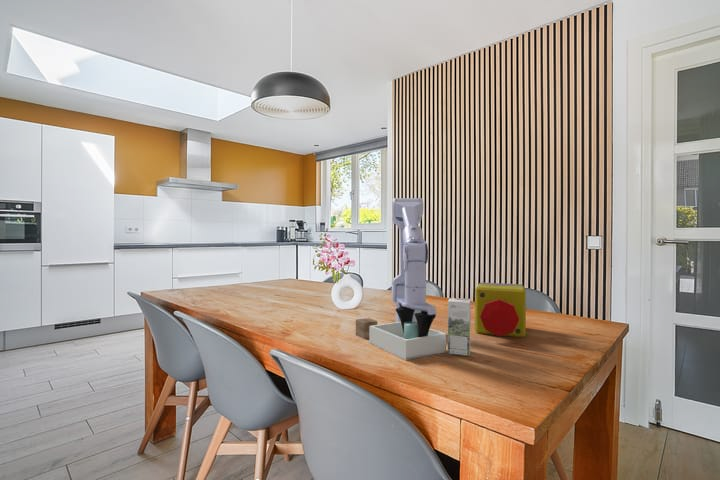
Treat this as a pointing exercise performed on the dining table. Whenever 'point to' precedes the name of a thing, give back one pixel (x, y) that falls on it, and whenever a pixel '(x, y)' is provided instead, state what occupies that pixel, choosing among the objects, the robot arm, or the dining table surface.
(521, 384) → the dining table surface
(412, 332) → the teal canister
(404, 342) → the grey tote
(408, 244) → the robot arm
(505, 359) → the dining table surface
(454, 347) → the syrup box
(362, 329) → the walnut cube
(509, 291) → the emergency stop button
